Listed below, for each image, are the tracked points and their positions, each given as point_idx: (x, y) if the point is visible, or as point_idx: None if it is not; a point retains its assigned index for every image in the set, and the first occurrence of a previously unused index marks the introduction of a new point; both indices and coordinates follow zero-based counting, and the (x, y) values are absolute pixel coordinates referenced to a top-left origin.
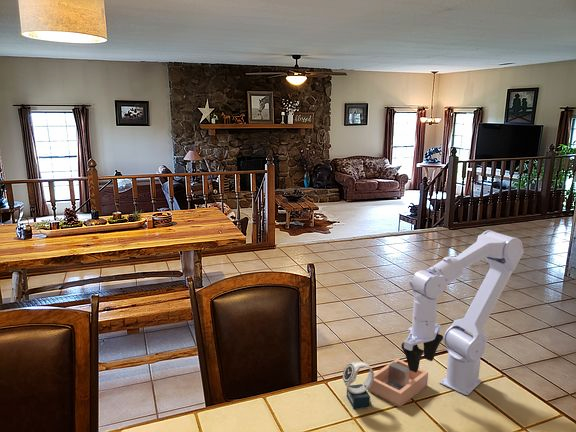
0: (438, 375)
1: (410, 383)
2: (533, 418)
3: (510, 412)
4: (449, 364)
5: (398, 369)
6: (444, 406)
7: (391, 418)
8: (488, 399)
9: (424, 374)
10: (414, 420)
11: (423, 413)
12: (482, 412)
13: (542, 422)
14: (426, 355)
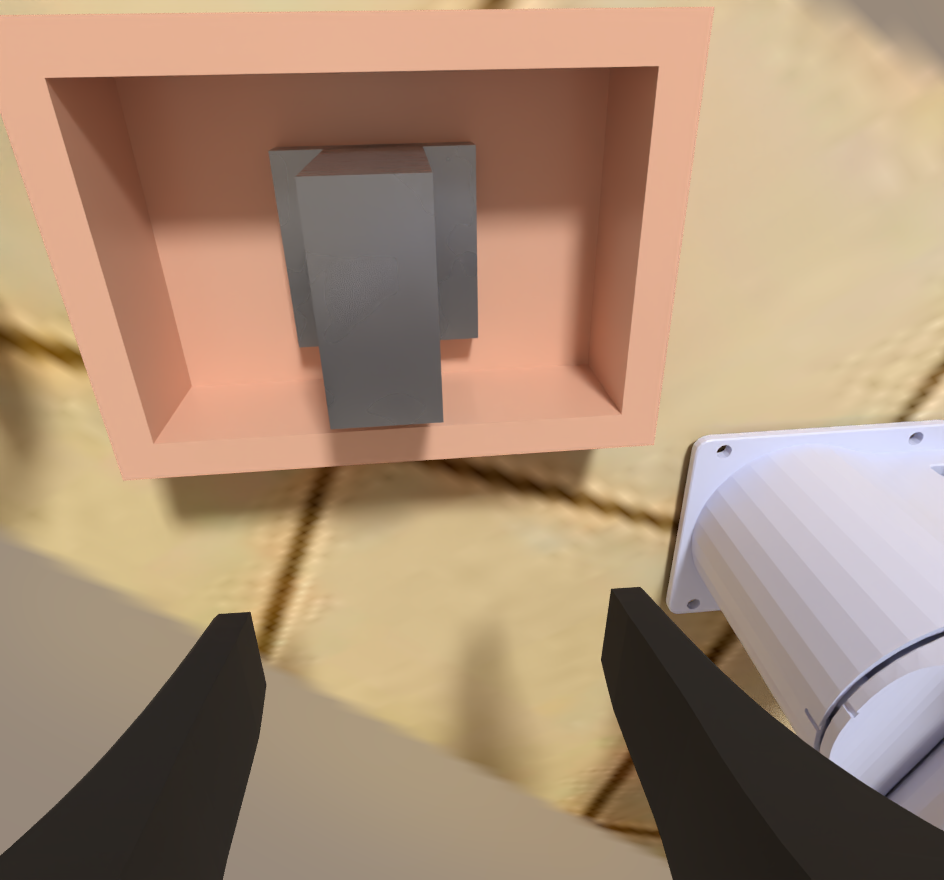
0: (808, 367)
1: (349, 444)
2: None
3: None
4: (808, 604)
5: (319, 337)
6: (458, 578)
7: (9, 445)
8: None
9: (593, 442)
10: (159, 547)
11: (276, 542)
12: (568, 705)
13: None
14: (624, 649)
